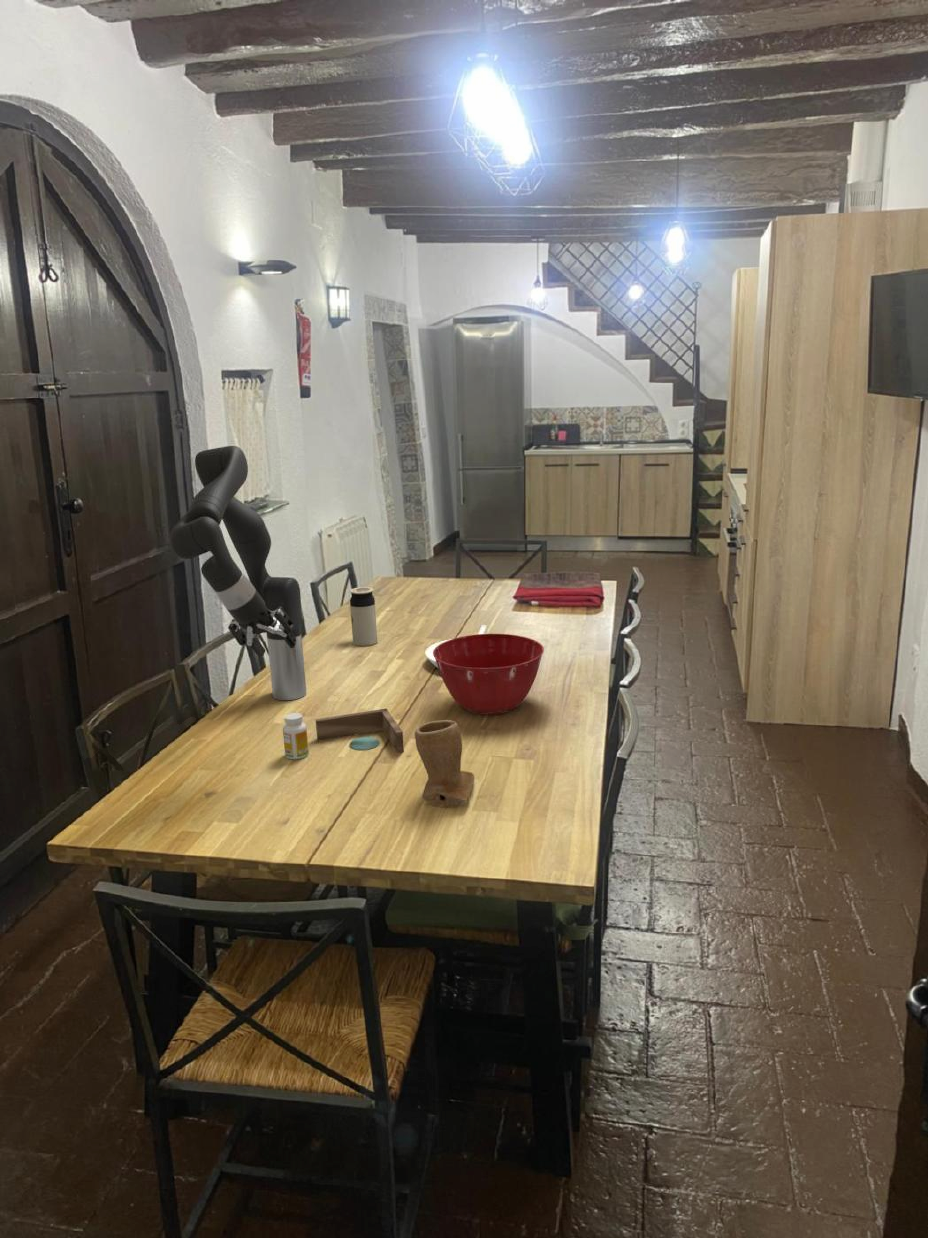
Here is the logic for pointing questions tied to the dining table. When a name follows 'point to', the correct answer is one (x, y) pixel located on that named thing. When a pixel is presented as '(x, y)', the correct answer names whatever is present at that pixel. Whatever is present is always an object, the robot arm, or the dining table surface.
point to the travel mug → (363, 616)
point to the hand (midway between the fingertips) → (278, 649)
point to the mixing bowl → (489, 670)
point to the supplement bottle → (295, 737)
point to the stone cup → (443, 764)
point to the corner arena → (361, 728)
